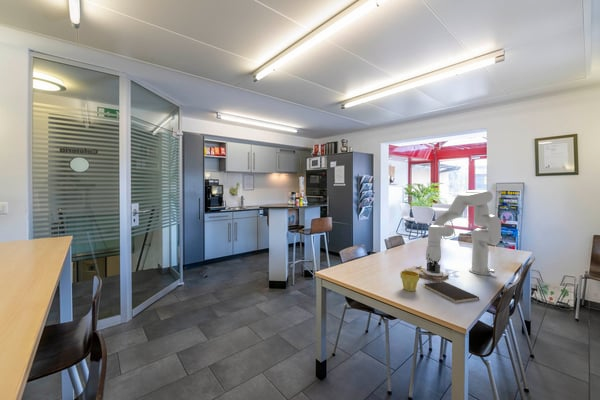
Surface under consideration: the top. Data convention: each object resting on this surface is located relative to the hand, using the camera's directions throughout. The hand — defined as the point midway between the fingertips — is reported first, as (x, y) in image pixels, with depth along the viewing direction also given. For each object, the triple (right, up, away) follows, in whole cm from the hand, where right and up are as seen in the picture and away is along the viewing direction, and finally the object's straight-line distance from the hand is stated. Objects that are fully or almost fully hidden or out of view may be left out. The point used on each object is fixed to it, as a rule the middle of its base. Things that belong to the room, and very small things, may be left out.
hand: (433, 270), depth 172 cm
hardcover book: (-4, -7, -26) cm, 27 cm away
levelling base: (-3, -4, +4) cm, 7 cm away
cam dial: (-1, -2, +1) cm, 3 cm away
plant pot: (-25, -6, -21) cm, 33 cm away
